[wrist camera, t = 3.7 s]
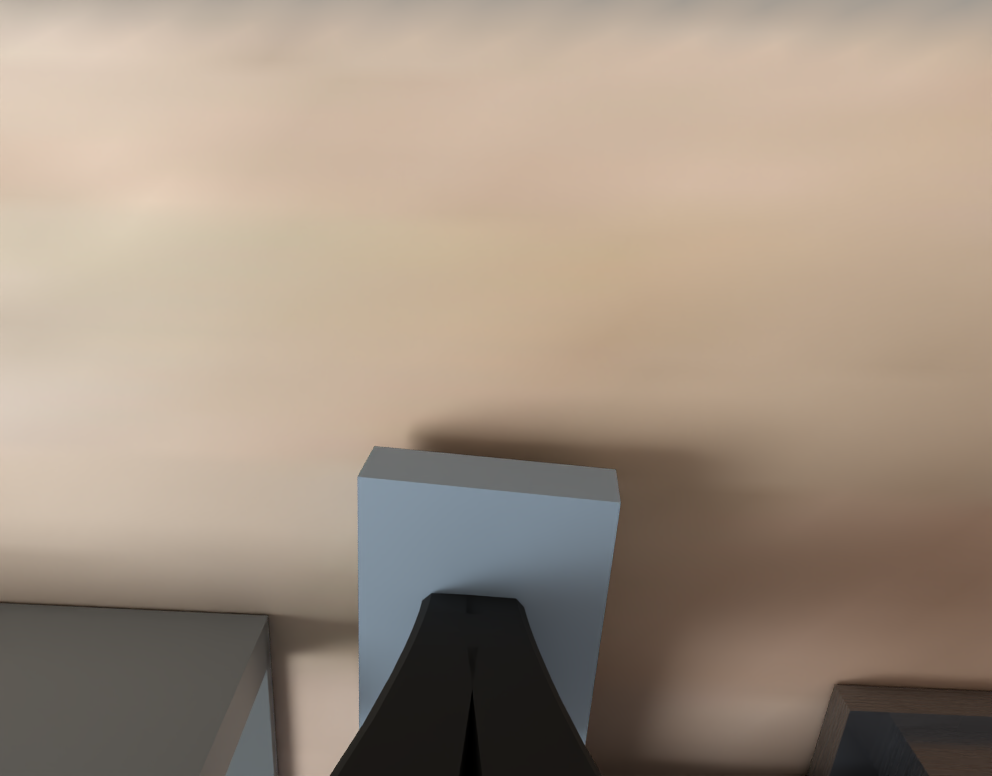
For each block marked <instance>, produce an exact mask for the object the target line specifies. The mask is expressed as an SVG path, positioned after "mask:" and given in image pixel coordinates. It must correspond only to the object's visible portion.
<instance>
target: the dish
mask: <svg viewBox="0 0 992 776" xmlns="http://www.w3.org/2000/svg"><path fill="white" fill-rule="evenodd" d="M0 776H278V764H277V748H276V733H275V717H274V701H273V685H272V670H271V654H270V638H269V622H268V616H265V615H243V614H222V613H201V612H179V611H158V610H136V609H115V608H93V607H72V606H50V605H29V604H8V603H0Z"/></svg>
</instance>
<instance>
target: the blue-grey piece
mask: <svg viewBox="0 0 992 776" xmlns="http://www.w3.org/2000/svg"><path fill="white" fill-rule="evenodd" d="M620 505H621V500H620V494H619V487H618V481H617V474H616V469H607V468H596V467H586V466H575V465H565V464H555V463H544V462H534V461H523V460H513V459H503V458H492V457H482V456H472V455H461V454H451V453H440V452H430V451H420V450H409V449H399V448H389V447H378V446H374V448H373V450H372V451H371V453H370V455H369V457H368V459H367V460H366V462H365V464H364V466H363V468H362V470H361V471H360V473H359V475H358V609H359V730H360V728H361V726H362V725H363V723H364V721H365V719H366V718H367V716H368V714H369V712H370V711H371V709H372V707H373V705H374V703H375V702H376V700H377V698H378V696H379V695H380V693H381V691H382V689H383V687H384V686H385V684H386V682H387V680H388V678H389V677H390V675H391V673H392V671H393V669H394V667H395V665H396V663H397V661H398V659H399V657H400V655H401V653H402V651H403V649H404V647H405V645H406V642H407V640H408V638H409V636H410V633H411V631H412V629H413V626H414V624H415V621H416V618H417V616H418V613H419V610H420V606H421V603H422V600H423V599H424V598H426V597H427V596H428V595H430V594H431V593H443V594H465V595H478V596H491V597H504V598H516V599H517V600H518V601H519V602H520V603H521V604H522V605H523V606H524V608H525V612H526V615H527V619H528V622H529V625H530V628H531V630H532V633H533V636H534V638H535V641H536V644H537V646H538V649H539V651H540V654H541V656H542V658H543V660H544V663H545V665H546V667H547V670H548V672H549V674H550V676H551V679H552V681H553V683H554V685H555V687H556V689H557V691H558V694H559V696H560V698H561V700H562V702H563V704H564V706H565V708H566V710H567V712H568V713H569V715H570V717H571V719H572V721H573V723H574V725H575V727H576V729H577V731H578V733H579V735H580V737H581V739H582V741H583V743H584V745H585V743H586V736H587V729H588V722H589V716H590V709H591V702H592V695H593V688H594V682H595V675H596V668H597V661H598V654H599V648H600V641H601V634H602V627H603V620H604V614H605V607H606V600H607V593H608V587H609V580H610V573H611V566H612V559H613V553H614V546H615V539H616V532H617V525H618V519H619V512H620Z"/></svg>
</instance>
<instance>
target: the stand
mask: <svg viewBox="0 0 992 776" xmlns="http://www.w3.org/2000/svg"><path fill="white" fill-rule="evenodd" d="M807 776H992V692H986V691H964V690H941V689H919V688H897V687H874V686H852V685H835V686H834V689H833V692H832V696H831V699H830V702H829V706H828V709H827V712H826V715H825V719H824V722H823V725H822V729H821V732H820V735H819V738H818V742H817V745H816V748H815V751H814V755H813V758H812V761H811V765H810V768H809V771H808V774H807Z"/></svg>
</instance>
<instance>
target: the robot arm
mask: <svg viewBox="0 0 992 776" xmlns="http://www.w3.org/2000/svg"><path fill="white" fill-rule="evenodd" d="M330 776H602V775H601V773H600V772H599V770H598V768H597V766H596V764H595V763H594V761H593V759H592V757H591V755H590V754H589V752H588V750H587V748H586V746H585V745H584V743H583V741H582V739H581V737H580V735H579V733H578V731H577V729H576V727H575V725H574V723H573V721H572V719H571V717H570V715H569V713H568V712H567V710H566V708H565V706H564V704H563V702H562V700H561V698H560V696H559V694H558V691H557V689H556V687H555V685H554V683H553V681H552V679H551V676H550V674H549V672H548V670H547V667H546V665H545V663H544V660H543V658H542V656H541V654H540V651H539V649H538V646H537V644H536V641H535V638H534V636H533V633H532V630H531V628H530V625H529V622H528V619H527V615H526V612H525V608H524V606H523V605H522V604H521V603H520V602H519V601H518V600H517V599H516V598H504V597H491V596H478V595H465V594H443V593H431V594H430V595H428V596H427V597H426V598H424V599H423V600H422V603H421V606H420V610H419V613H418V616H417V618H416V621H415V624H414V626H413V629H412V631H411V633H410V636H409V638H408V640H407V642H406V645H405V647H404V649H403V651H402V653H401V655H400V657H399V659H398V661H397V663H396V665H395V667H394V669H393V671H392V673H391V675H390V677H389V678H388V680H387V682H386V684H385V686H384V687H383V689H382V691H381V693H380V695H379V696H378V698H377V700H376V702H375V703H374V705H373V707H372V709H371V711H370V712H369V714H368V716H367V718H366V719H365V721H364V723H363V725H362V726H361V728H360V730H359V731H358V733H357V734H356V736H355V738H354V739H353V741H352V742H351V744H350V745H349V747H348V748H347V750H346V751H345V753H344V755H343V756H342V758H341V759H340V761H339V762H338V764H337V765H336V767H335V768H334V770H333V772H332V773H331V775H330Z"/></svg>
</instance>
